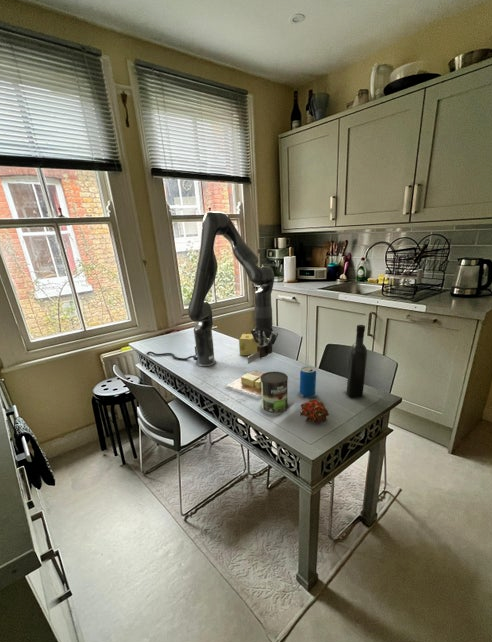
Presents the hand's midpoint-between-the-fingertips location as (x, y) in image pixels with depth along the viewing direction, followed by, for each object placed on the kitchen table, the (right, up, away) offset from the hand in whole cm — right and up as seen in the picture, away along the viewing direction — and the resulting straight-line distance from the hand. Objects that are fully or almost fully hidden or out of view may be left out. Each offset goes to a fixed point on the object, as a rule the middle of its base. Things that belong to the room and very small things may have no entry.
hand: (264, 352), depth 142 cm
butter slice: (-2, -15, -2) cm, 15 cm away
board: (-4, -15, +2) cm, 15 cm away
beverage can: (+18, -19, -8) cm, 27 cm away
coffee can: (+3, -23, -17) cm, 29 cm away
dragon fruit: (+17, -26, -25) cm, 40 cm away
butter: (-7, -14, +1) cm, 15 cm away
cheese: (-7, +2, +40) cm, 40 cm away
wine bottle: (+37, -18, -10) cm, 43 cm away
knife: (-2, -2, -2) cm, 4 cm away
